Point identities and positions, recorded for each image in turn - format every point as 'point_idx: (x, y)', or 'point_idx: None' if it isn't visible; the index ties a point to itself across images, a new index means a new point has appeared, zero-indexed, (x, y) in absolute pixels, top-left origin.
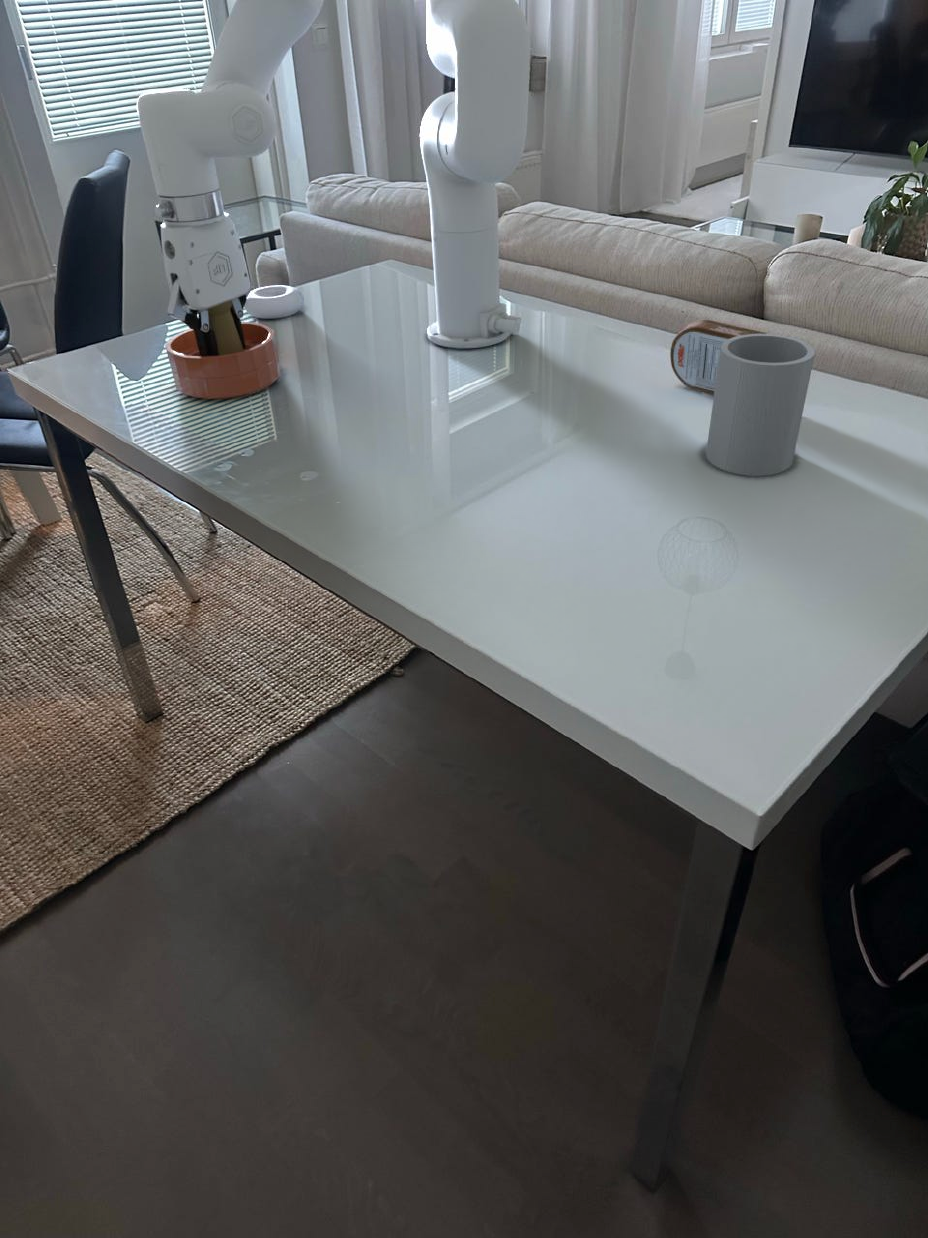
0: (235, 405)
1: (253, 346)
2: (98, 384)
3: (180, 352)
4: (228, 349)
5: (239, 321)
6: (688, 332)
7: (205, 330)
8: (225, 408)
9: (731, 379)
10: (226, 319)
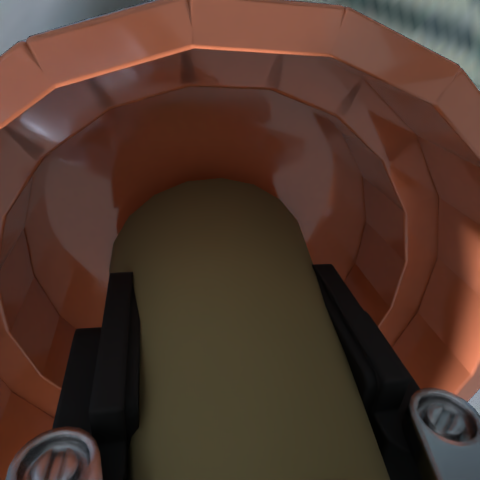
0: (401, 25)
1: (3, 307)
2: None
3: None
4: (280, 259)
5: (105, 398)
6: None
7: (430, 401)
8: (437, 45)
9: None
10: (278, 421)
